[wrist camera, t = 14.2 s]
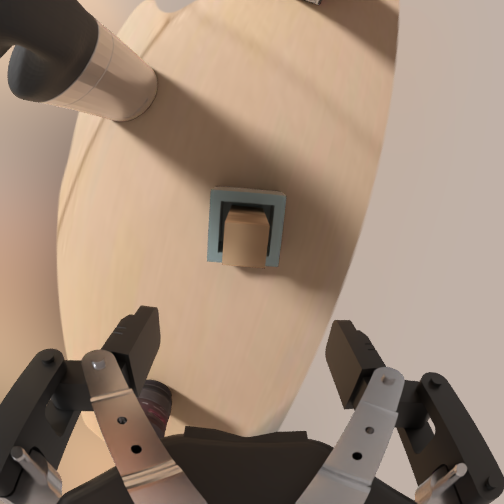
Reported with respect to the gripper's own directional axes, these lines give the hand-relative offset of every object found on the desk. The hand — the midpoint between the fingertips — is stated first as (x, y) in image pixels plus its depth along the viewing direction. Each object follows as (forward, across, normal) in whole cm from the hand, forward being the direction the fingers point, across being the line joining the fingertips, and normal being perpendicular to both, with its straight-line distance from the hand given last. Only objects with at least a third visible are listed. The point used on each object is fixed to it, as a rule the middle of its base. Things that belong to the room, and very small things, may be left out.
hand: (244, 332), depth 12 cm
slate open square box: (+26, 0, 0) cm, 26 cm away
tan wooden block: (+25, 0, 0) cm, 25 cm away
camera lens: (+26, +15, +34) cm, 45 cm away
